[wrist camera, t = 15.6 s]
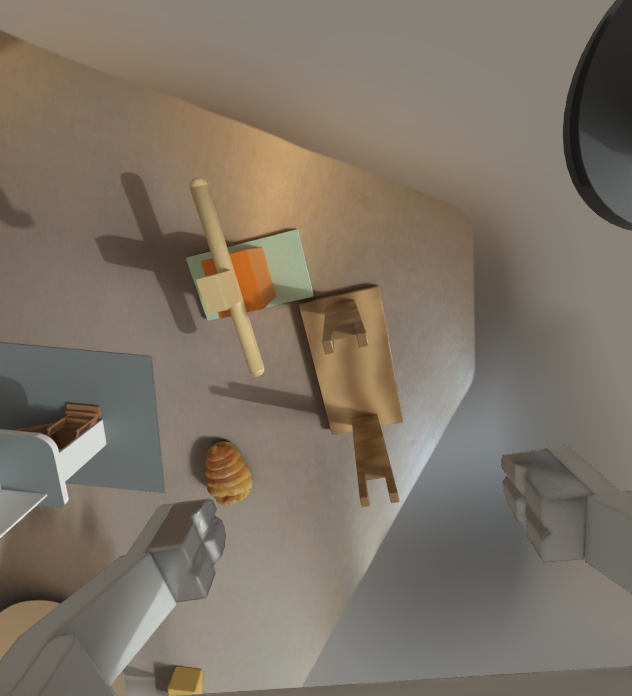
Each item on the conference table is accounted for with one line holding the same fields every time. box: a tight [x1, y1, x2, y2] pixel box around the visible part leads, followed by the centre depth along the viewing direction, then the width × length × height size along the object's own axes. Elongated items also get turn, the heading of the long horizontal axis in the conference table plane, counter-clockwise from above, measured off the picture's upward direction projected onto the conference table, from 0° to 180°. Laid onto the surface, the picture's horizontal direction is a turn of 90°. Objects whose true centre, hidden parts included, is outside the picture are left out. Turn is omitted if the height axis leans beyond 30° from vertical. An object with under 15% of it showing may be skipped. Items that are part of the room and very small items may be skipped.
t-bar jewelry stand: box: [190, 178, 276, 376], centre depth 33 cm, size 5×20×13 cm, turn 13°
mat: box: [186, 229, 314, 321], centre depth 39 cm, size 14×8×1 cm, turn 103°
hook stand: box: [299, 285, 403, 507], centre depth 35 cm, size 10×19×16 cm, turn 13°
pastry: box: [205, 441, 253, 505], centre depth 47 cm, size 9×7×4 cm
